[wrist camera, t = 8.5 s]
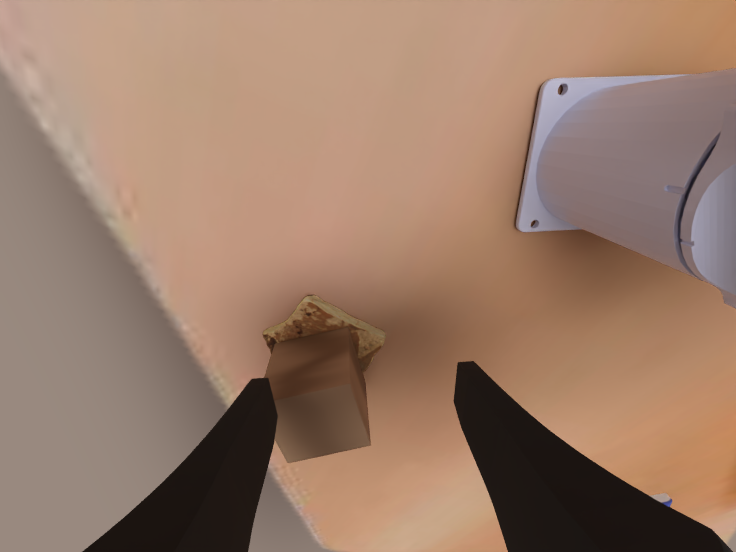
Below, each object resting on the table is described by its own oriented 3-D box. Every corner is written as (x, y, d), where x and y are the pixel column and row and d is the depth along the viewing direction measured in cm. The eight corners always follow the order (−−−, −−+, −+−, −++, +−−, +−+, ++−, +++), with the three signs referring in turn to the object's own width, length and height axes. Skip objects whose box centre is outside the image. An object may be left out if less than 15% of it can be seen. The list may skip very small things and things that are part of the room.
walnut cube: (348, 326, 20) (349, 383, 16) (365, 381, 23) (370, 445, 18) (274, 343, 20) (255, 404, 16) (298, 396, 23) (287, 463, 18)
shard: (314, 418, 26) (312, 437, 25) (228, 384, 24) (219, 402, 22) (388, 328, 23) (391, 343, 21) (295, 278, 21) (291, 291, 19)
